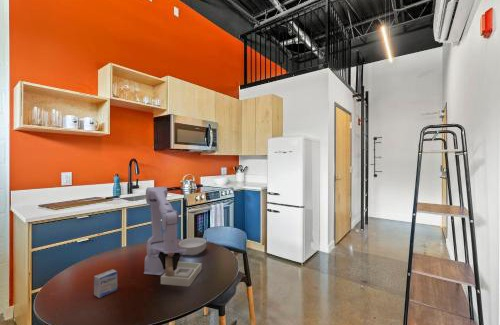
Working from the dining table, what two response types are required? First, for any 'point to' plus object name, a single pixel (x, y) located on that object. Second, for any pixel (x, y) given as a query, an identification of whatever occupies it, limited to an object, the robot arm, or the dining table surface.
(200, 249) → the cereal bowl
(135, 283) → the dining table surface
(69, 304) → the dining table surface
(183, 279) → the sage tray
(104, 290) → the medicine box
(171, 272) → the birch peg
